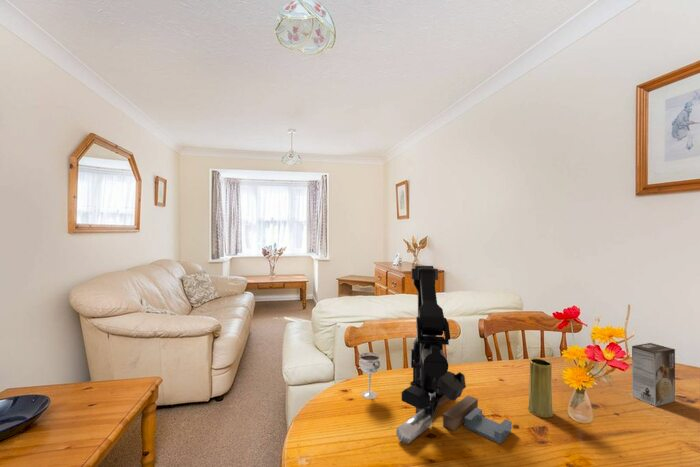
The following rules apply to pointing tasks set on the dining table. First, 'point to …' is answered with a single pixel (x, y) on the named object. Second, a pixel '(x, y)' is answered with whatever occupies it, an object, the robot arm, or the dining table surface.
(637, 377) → the coffee box
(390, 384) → the dining table surface
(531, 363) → the vase
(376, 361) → the wineglass
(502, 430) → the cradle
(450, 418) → the pair of brown blocks
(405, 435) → the axle
